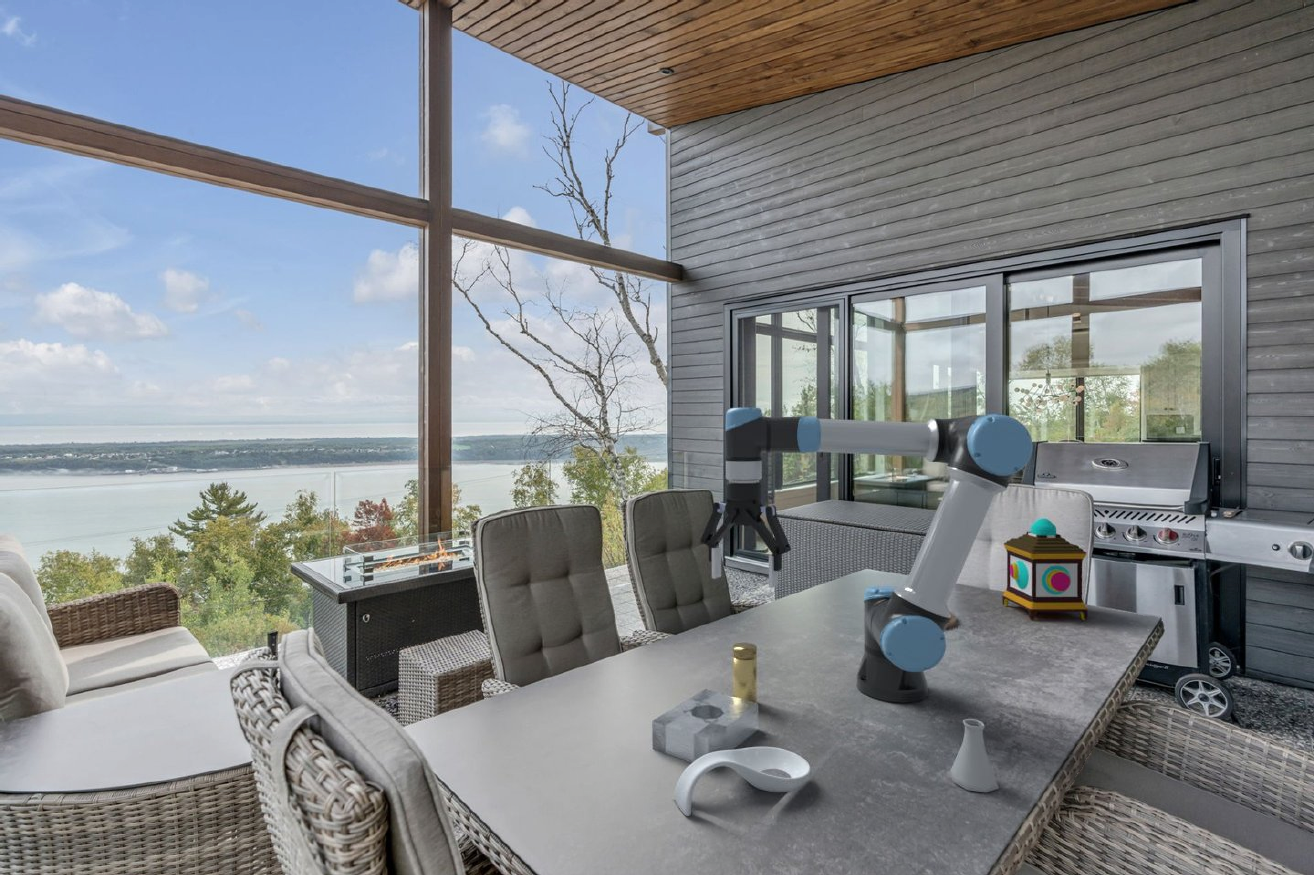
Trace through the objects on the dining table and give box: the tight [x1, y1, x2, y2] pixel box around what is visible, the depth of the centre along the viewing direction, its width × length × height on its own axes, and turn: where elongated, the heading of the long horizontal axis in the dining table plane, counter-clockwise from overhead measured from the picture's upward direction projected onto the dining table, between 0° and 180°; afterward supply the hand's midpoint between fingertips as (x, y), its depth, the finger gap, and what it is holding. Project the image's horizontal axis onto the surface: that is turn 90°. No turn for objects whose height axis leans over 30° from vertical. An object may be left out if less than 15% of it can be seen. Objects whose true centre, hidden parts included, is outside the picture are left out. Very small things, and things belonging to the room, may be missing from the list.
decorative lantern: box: [1001, 517, 1089, 621], centre depth 208 cm, size 20×20×30 cm
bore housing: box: [651, 688, 759, 764], centre depth 123 cm, size 12×18×6 cm, turn 143°
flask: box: [949, 718, 999, 793], centre depth 110 cm, size 7×7×10 cm
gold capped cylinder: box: [732, 642, 758, 703], centre depth 139 cm, size 5×5×13 cm
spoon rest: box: [673, 746, 812, 817], centre depth 107 cm, size 24×12×7 cm, turn 116°
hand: (744, 581), depth 138 cm, fingers open, 13 cm apart
